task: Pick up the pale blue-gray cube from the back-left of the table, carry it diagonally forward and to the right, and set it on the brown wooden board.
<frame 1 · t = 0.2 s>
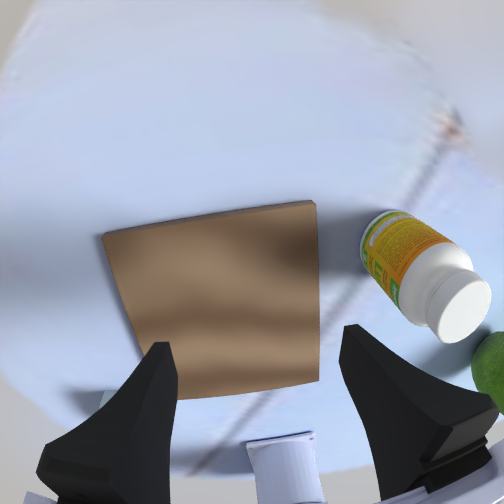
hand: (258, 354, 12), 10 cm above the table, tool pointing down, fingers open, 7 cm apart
avocado: (482, 344, 29), on the table
supplement bottle: (388, 241, 22), on the table
brown wooden board: (224, 316, 23), on the table
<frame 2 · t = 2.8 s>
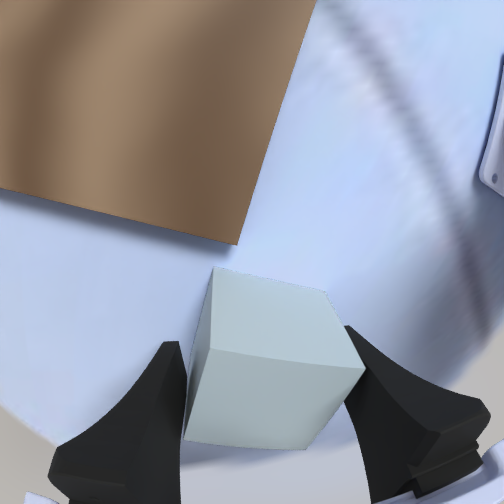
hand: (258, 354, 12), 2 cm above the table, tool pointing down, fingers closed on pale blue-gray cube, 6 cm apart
brown wooden board: (88, 23, 8), on the table
pale blue-gray cube: (254, 326, 14), on the table, touching gripper
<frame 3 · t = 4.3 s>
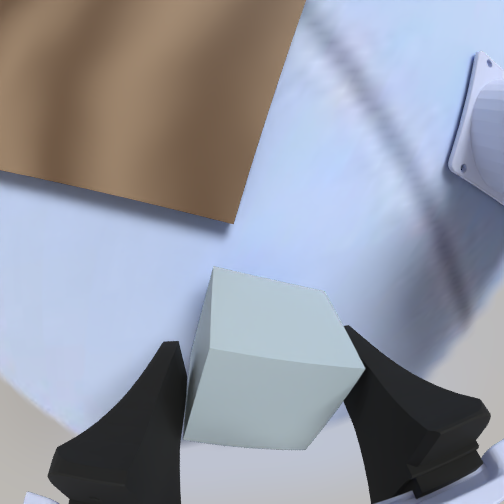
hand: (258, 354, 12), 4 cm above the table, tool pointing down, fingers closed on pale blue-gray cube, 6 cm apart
brown wooden board: (108, 37, 10), on the table
pale blue-gray cube: (254, 326, 14), point 2 cm above the table, touching gripper
when the fingers open (9 cm above the table, at t = 6.0 s): pale blue-gray cube drops 6 cm, resting on brown wooden board.
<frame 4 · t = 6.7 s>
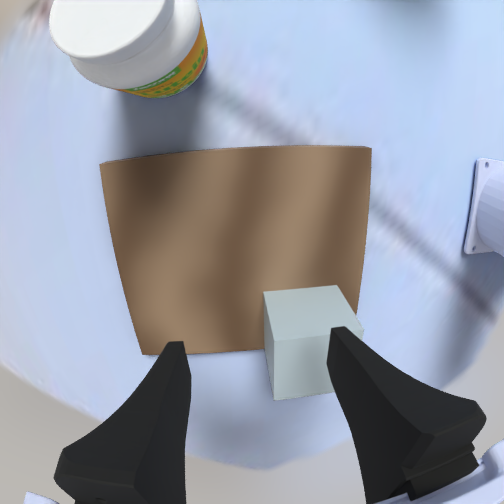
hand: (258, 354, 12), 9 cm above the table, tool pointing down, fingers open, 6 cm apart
supplement bottle: (162, 56, 15), on the table
brown wooden board: (242, 257, 20), on the table
pale blue-gray cube: (299, 319, 22), point 1 cm above the table, touching brown wooden board
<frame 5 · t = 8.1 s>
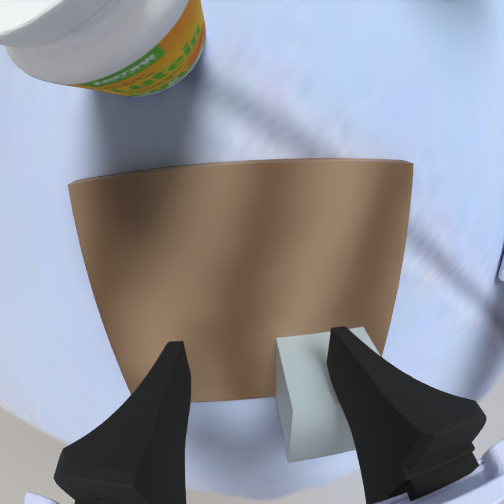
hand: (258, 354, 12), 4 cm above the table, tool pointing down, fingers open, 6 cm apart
supplement bottle: (147, 43, 11), on the table
brown wooden board: (250, 297, 16), on the table
pale blue-gray cube: (317, 365, 18), point 1 cm above the table, touching brown wooden board
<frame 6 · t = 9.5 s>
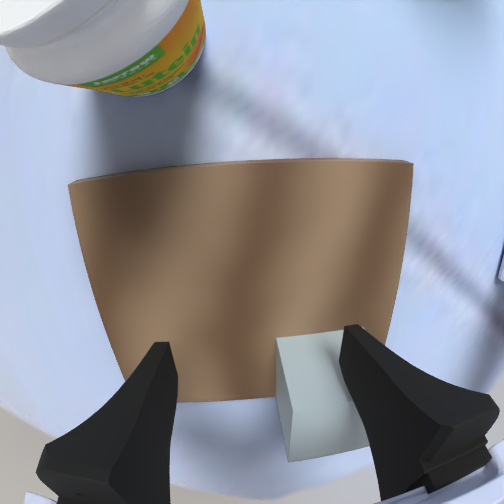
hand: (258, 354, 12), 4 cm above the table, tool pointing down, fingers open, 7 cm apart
supplement bottle: (147, 43, 11), on the table
brown wooden board: (250, 297, 16), on the table
pale blue-gray cube: (317, 365, 18), point 1 cm above the table, touching brown wooden board
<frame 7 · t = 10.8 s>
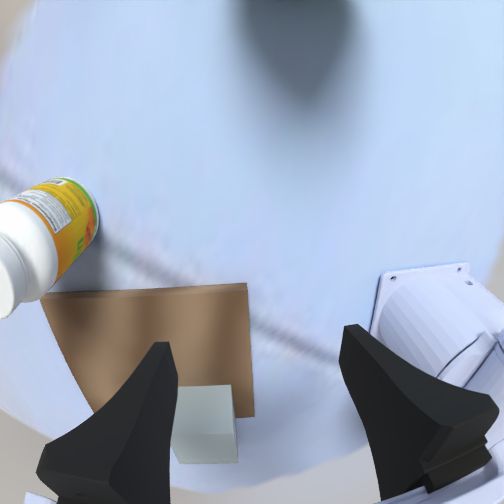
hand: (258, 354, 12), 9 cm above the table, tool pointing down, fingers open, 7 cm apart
supplement bottle: (67, 213, 19), on the table
brown wooden board: (153, 361, 24), on the table
pale blue-gray cube: (204, 404, 25), point 1 cm above the table, touching brown wooden board
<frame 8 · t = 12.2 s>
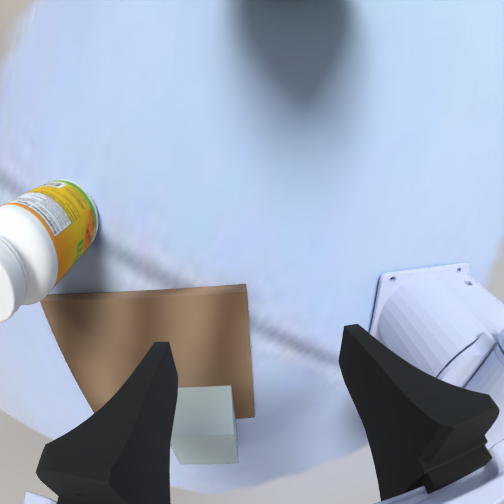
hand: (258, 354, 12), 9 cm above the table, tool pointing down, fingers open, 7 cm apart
supplement bottle: (67, 215, 19), on the table
brown wooden board: (154, 362, 24), on the table
pale blue-gray cube: (205, 404, 25), point 1 cm above the table, touching brown wooden board
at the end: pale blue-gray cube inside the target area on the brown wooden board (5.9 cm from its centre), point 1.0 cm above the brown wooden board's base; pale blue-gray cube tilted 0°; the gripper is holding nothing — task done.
